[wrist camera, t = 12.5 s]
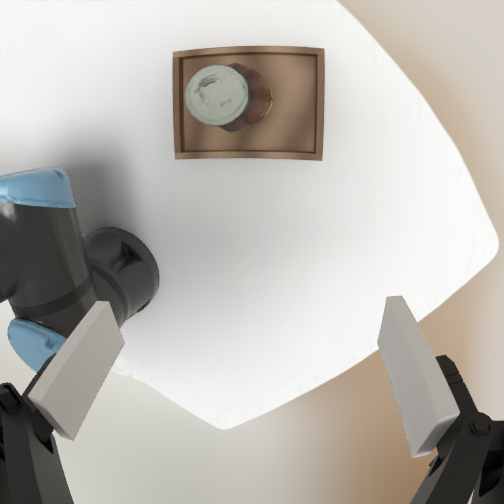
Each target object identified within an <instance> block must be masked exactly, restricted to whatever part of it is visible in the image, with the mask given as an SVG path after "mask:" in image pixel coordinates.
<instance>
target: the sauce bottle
mask: <svg viewBox="0 0 504 504" xmlns="http://www.w3.org/2000/svg"><path fill="white" fill-rule="evenodd" d="M272 99H273V95H272V91H271V88H270V86H269V85H268V83H267V81H266V80H265V78H264V77H263V76H262V75H261V74H260V73H259V72H257V71H255V70H254V69H252V68H250V67H248V66H245V65H241V64H238V63H232V64H229V65H220V64H215V65H210V66H207V67H204V68H202V69H200V70H199V71H198V72H196V73H195V74H194V75H193V76H192V78H191V79H190V81H189V82H188V84H187V87H186V91H185V103H186V106H187V108H188V110H189V112H190V113H191V115H192V116H193V117H194V118H195V119H197V120H198V121H200V122H202V123H204V124H206V125H211V126H217V127H220V128H222V129H224V130H226V131H228V132H235V131H241V130H245V129H247V128H250V127H252V126H254V125H256V124H257V123H259V122H260V121H261V120H262V119H263V118H264V117H265V116H266V115H267V114H268V113H269V111H270V109H271V107H272V103H273V102H272Z"/></svg>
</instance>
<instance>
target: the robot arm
mask: <svg viewBox="0 0 504 504" xmlns="http://www.w3.org/2000/svg"><path fill="white" fill-rule="evenodd" d="M76 207H77V203H76V202H75V201H74V197H73V193H72V189H71V185H70V180H69V177H68V175H67V174H66V172H65V171H64V170H62V169H60V168H56V167H52V168H41V169H34V170H28V171H22V172H16V173H11V174H6V175H1V176H0V303H1V302H3V301H5V300H7V299H8V301H9V303H10V305H11V307H12V310H13V312H14V314H15V319H13V320H12V321H11V322H10V325H9V327H8V339H9V341H10V343H11V345H12V347H13V349H14V350H15V351H16V353H17V354H18V355H19V356H20V358H21V359H22V360H23V361H24V362H25V363H26V364H27V365H28V366H29V367H31V368H32V369H33V370H34V371H36V372H37V375H35V377H34V378H33V379H32V381H31V382H30V384H29V385H28V387H27V389H26V390H25V391H24V393H23V395H22V396H21V395H20V394H19V393H18V391H17V390H16V389H15V387H14V386H13V385H12V384H11V383H2V384H1V385H0V504H74V502H73V499H72V497H71V494H70V491H69V488H68V485H67V481H66V478H65V475H64V472H63V469H62V465H61V461H60V458H59V454H58V450H57V446H56V442H55V438H54V436H53V434H52V432H53V430H54V429H55V430H56V432H57V433H58V434H59V435H60V436H61V437H64V438H66V439H69V440H72V441H74V439H75V437H76V435H77V433H78V431H79V429H80V427H81V425H82V423H83V421H84V419H85V417H86V415H87V413H88V411H89V408H90V407H91V405H92V403H93V401H94V399H95V397H96V395H97V393H98V392H99V390H100V388H101V386H102V384H103V382H104V380H105V378H106V376H107V374H108V373H109V371H110V369H111V367H112V365H113V364H114V362H115V360H116V358H117V356H118V354H119V353H120V351H121V349H122V347H123V346H124V344H125V343H124V340H123V338H122V335H121V333H120V328H121V326H122V325H123V323H124V322H125V320H127V319H128V318H130V317H132V316H133V315H135V314H136V313H138V312H140V311H141V310H143V309H144V308H145V307H146V306H147V305H148V304H149V303H150V302H151V300H152V299H153V297H154V295H155V294H156V292H157V289H158V285H159V273H158V268H157V265H156V262H155V260H154V258H153V256H152V254H151V253H150V251H149V250H148V249H147V247H146V246H145V245H144V244H143V243H142V242H141V241H140V240H139V239H138V238H136V237H135V236H133V235H132V234H130V233H128V232H126V231H124V230H121V229H117V228H102V229H99V230H97V231H95V232H93V233H92V234H91V235H89V236H88V237H87V238H86V239H84V241H83V238H82V234H81V230H80V225H79V221H78V216H77V211H76ZM377 343H378V346H379V349H380V352H381V355H382V358H383V361H384V364H385V367H386V370H387V373H388V376H389V379H390V382H391V385H392V388H393V391H394V394H395V398H396V401H397V404H398V408H399V411H400V415H401V418H402V421H403V425H404V429H405V432H406V436H407V440H408V443H409V447H410V451H411V455H412V458H415V457H419V456H423V455H427V454H430V453H431V452H432V451H433V449H434V448H435V447H437V451H438V455H437V456H436V457H435V458H434V459H433V461H432V462H431V463H430V464H429V466H430V467H431V468H430V469H429V472H428V473H427V475H426V477H425V479H424V480H423V482H422V484H421V486H420V488H419V489H418V491H417V493H416V494H415V496H414V498H413V499H412V501H411V502H410V504H467V503H468V501H469V499H470V496H471V494H472V492H473V490H474V492H473V497H472V502H471V504H504V421H493V420H491V418H490V417H489V416H487V415H486V414H484V413H481V412H478V410H477V408H476V406H475V404H474V402H473V400H472V397H471V395H470V393H469V391H468V389H467V387H466V385H465V383H464V382H463V379H462V377H461V375H459V371H458V369H457V368H456V366H455V363H454V362H453V361H452V360H451V359H449V358H448V357H447V356H446V355H442V356H438V357H435V356H434V354H433V352H432V350H431V348H430V346H429V345H428V343H427V340H426V339H425V337H424V335H423V333H422V331H421V329H420V327H419V325H418V323H417V322H416V320H415V318H414V316H413V314H412V313H411V311H410V309H409V307H408V305H407V304H406V302H405V300H404V298H403V297H402V296H392V297H387V299H386V304H385V309H384V314H383V319H382V324H381V328H380V333H379V337H378V342H377Z"/></svg>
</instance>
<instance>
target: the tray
mask: <svg viewBox="0 0 504 504" xmlns="http://www.w3.org/2000/svg"><path fill="white" fill-rule="evenodd" d="M232 63H238V64H241V65H245V66H248V67H250V68H252V69H254V70H255V71H257V72H259V73H260V74H261V75H262V76H263V77H264V78H265V80H266V81H267V83H268V85H269V86H270V88H271V91H272V95H273V99H272V102H273V103H272V107H271V109H270V111H269V113H268V114H267V115H266V116H265V117H264V118H263V119H262V120H261V121H260V122H259V123H257V124H256V125H254V126H252V127H250V128H247V129H245V130H241V131H235V132H228V131H226V130H224V129H222V128H220V127H217V126H211V125H206V124H204V123H202V122H200V121H198V120H197V119H195V118H194V117H193V116H192V115H191V113H190V112H189V110H188V108H187V106H186V103H185V91H186V87H187V84H188V82H189V81H190V79H191V78H192V76H193V75H194V74H195V73H196V72H198V71H199V70H200V69H202V68H204V67H207V66H210V65H215V64H220V65H229V64H232ZM173 123H174V147H175V159H198V158H273V159H300V160H318V161H322V153H323V128H324V49H322V48H310V47H292V46H235V47H218V48H205V49H195V50H186V51H178V52H173Z"/></svg>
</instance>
